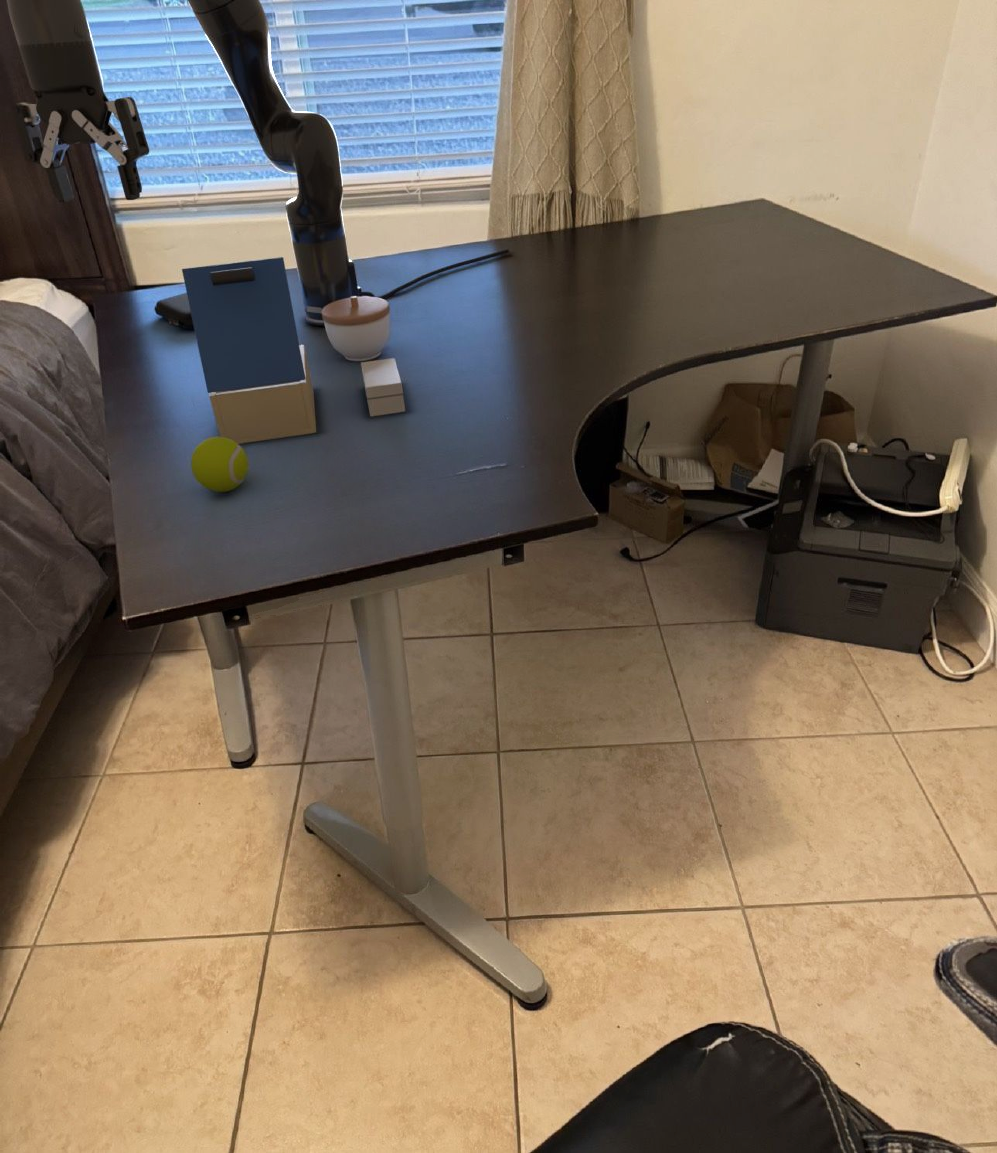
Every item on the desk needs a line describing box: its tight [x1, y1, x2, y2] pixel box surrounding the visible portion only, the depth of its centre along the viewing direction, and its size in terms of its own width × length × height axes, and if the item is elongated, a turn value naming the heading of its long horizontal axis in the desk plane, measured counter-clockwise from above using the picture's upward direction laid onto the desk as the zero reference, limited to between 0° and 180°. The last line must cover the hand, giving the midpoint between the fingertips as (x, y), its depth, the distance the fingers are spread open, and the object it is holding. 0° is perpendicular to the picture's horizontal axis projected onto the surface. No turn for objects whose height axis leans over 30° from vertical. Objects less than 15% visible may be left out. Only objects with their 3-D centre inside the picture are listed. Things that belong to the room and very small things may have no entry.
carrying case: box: [154, 292, 194, 330], centre depth 161 cm, size 11×3×15 cm
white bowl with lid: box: [321, 296, 392, 362], centre depth 139 cm, size 11×11×9 cm
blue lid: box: [181, 256, 305, 394], centre depth 110 cm, size 15×13×5 cm
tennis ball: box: [190, 436, 249, 493], centre depth 106 cm, size 7×7×7 cm
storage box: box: [208, 344, 317, 445], centre depth 122 cm, size 15×13×7 cm
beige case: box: [360, 357, 406, 418], centre depth 125 cm, size 10×5×4 cm, turn 11°
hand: (100, 200), depth 102 cm, fingers open, 8 cm apart
